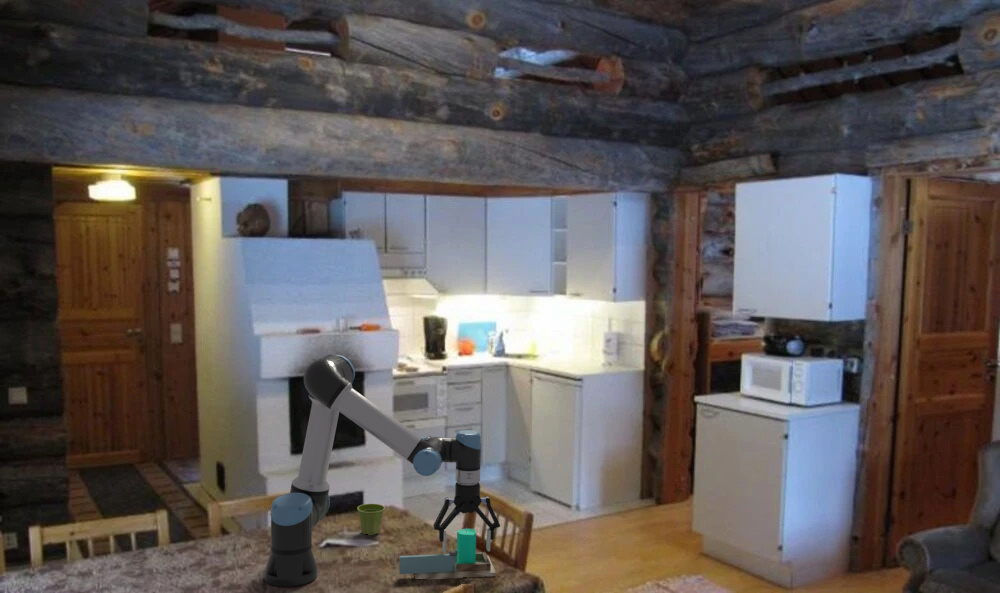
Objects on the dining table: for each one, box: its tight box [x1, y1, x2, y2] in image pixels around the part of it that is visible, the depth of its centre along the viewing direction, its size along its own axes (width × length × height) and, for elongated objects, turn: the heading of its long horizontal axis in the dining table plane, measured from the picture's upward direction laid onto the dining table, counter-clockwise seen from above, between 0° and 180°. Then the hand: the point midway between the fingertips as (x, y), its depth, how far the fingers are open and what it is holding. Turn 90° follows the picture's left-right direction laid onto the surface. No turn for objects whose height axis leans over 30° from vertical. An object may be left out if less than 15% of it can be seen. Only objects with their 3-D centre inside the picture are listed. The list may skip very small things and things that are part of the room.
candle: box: [456, 528, 477, 564], centre depth 249 cm, size 6×6×12 cm
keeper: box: [398, 549, 458, 575], centre depth 242 cm, size 2×17×6 cm, turn 100°
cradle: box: [413, 551, 497, 580], centre depth 248 cm, size 24×14×3 cm, turn 100°
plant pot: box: [357, 503, 386, 536], centre depth 279 cm, size 9×9×9 cm
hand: (466, 550), depth 249 cm, fingers open, 13 cm apart
